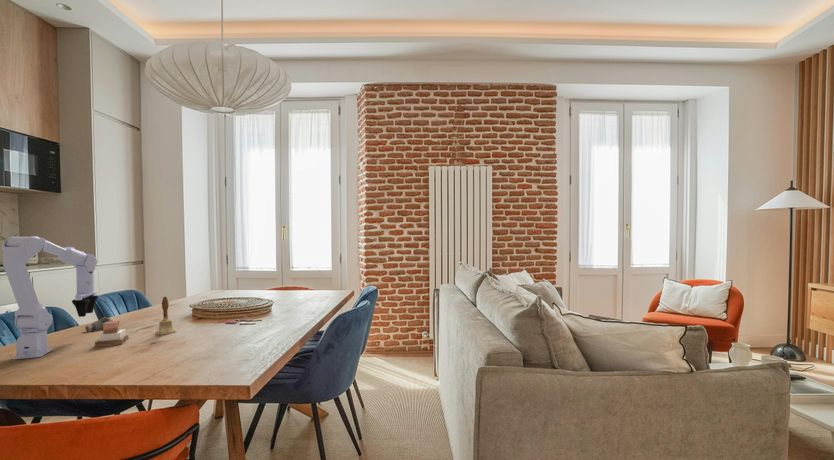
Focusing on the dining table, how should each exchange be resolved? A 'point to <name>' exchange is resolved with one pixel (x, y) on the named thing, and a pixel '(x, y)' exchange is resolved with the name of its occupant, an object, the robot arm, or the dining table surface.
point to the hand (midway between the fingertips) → (85, 314)
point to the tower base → (111, 342)
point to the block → (111, 327)
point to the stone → (97, 324)
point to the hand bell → (165, 321)
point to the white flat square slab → (112, 335)
